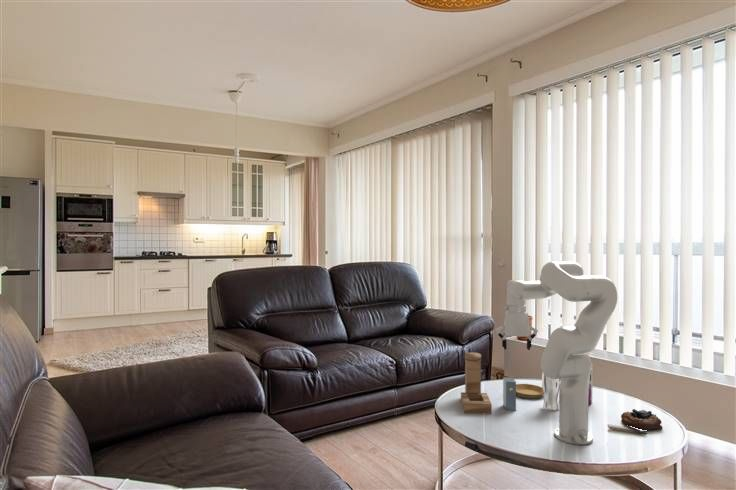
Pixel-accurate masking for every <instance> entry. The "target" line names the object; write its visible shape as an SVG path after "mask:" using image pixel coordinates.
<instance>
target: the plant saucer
mask: <svg viewBox="0 0 736 490" xmlns="http://www.w3.org/2000/svg"><path fill="white" fill-rule="evenodd" d="M516 396H518V397H521V398H525V399H538V398H541V397H543V396H544V395H543V389H542V386H540V385H536V384H530V383H518V384H517V383H516Z"/></svg>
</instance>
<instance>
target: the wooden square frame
mask: <svg viewBox="0 0 736 490" xmlns="http://www.w3.org/2000/svg"><path fill="white" fill-rule="evenodd" d="M481 362H482V354H481V353H479V352H473V351H472V352H465V353H464V363H465V364H464V367H465V368H464V379H465V380H464V381H465V382H464V386H465V388H464V389H465V390H464V392H462V391H461V392H460V404H461V407H462V410H464V411H463V413H464V414H483V413H486V415H488V414H489V415H490V414H492V411H493V410H492V408H493V405H492V402H491V400H490V397H489V395H488V393H487V392H482V386H481V385H482V382H481V381H482V377H481V376H482V371H481V370H482V363H481Z"/></svg>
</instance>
